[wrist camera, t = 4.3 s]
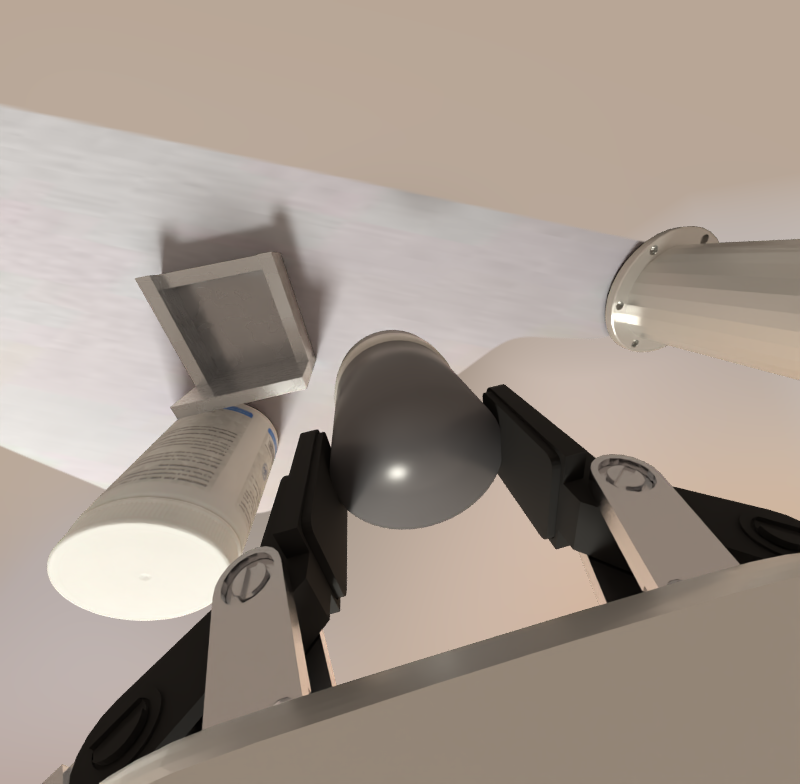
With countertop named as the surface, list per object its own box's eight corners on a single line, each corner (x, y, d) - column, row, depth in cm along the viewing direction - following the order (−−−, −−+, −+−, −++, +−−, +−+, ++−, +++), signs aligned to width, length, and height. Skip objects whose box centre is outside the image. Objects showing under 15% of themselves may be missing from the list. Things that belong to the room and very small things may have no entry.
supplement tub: (159, 437, 28) (-4, 589, 15) (222, 377, 27) (102, 488, 14) (242, 486, 33) (169, 640, 19) (300, 437, 31) (265, 566, 18)
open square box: (280, 252, 23) (255, 250, 17) (316, 359, 28) (306, 388, 21) (161, 276, 23) (90, 282, 17) (217, 382, 27) (177, 418, 21)
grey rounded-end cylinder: (436, 316, 14) (504, 362, 8) (448, 414, 17) (507, 507, 10) (321, 342, 14) (297, 410, 7) (352, 438, 16) (353, 548, 10)
